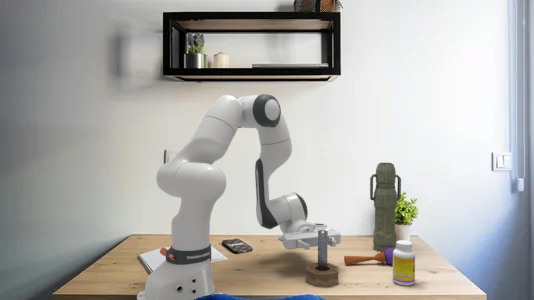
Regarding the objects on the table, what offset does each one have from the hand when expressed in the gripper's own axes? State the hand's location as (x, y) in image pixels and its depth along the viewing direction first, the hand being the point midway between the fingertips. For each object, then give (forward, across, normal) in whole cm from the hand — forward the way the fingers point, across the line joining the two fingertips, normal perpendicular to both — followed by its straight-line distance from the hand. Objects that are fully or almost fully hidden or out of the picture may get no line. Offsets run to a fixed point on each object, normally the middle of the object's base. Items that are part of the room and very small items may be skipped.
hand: (321, 245), depth 124 cm
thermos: (-20, +38, +11) cm, 45 cm away
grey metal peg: (+1, 0, +11) cm, 11 cm away
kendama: (-7, +24, +12) cm, 27 cm away
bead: (+1, 0, +11) cm, 11 cm away
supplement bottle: (+10, +24, +11) cm, 28 cm away
